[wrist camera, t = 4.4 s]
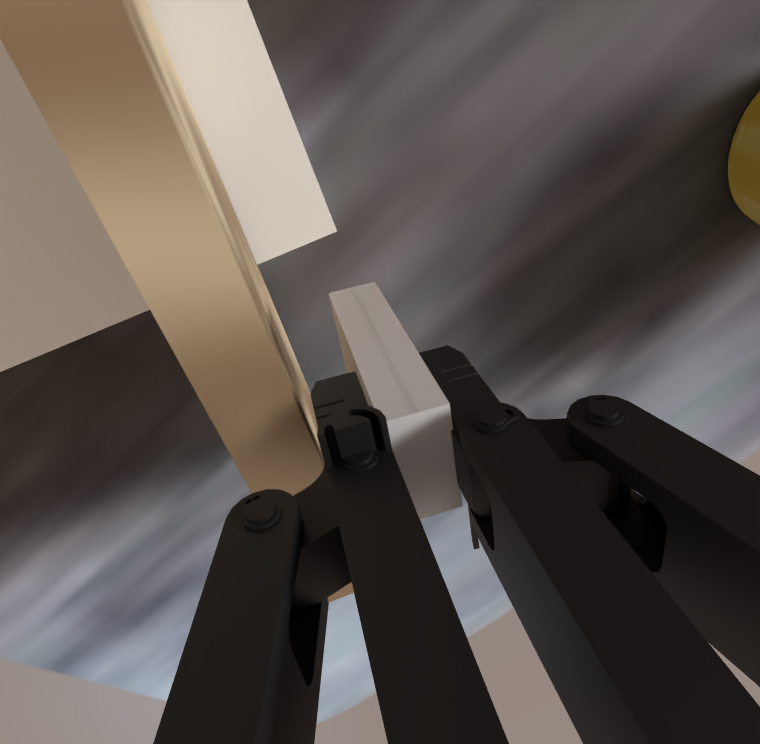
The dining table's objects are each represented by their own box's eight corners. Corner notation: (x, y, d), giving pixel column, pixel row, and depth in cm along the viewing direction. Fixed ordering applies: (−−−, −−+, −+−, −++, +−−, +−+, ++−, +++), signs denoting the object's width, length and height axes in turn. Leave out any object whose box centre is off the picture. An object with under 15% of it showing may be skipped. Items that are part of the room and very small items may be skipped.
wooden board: (3, -166, 13) (-270, -429, 6) (85, -191, 13) (-80, -477, 6) (282, 428, 23) (311, 608, 16) (329, 412, 23) (378, 582, 16)
